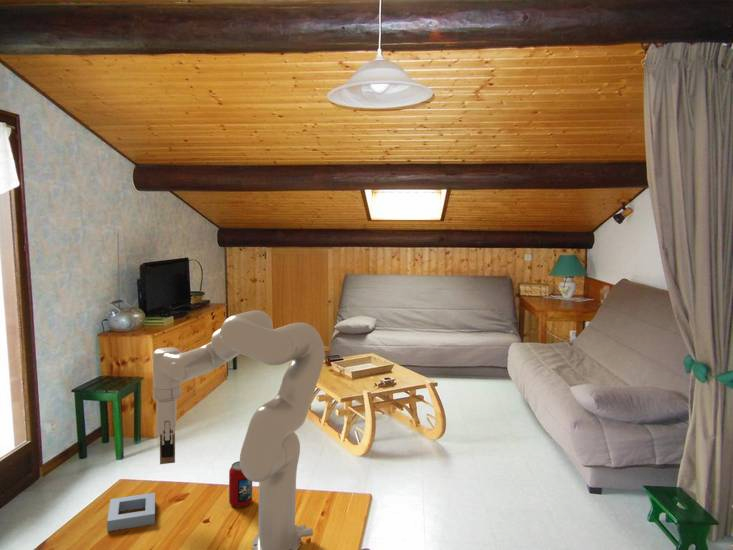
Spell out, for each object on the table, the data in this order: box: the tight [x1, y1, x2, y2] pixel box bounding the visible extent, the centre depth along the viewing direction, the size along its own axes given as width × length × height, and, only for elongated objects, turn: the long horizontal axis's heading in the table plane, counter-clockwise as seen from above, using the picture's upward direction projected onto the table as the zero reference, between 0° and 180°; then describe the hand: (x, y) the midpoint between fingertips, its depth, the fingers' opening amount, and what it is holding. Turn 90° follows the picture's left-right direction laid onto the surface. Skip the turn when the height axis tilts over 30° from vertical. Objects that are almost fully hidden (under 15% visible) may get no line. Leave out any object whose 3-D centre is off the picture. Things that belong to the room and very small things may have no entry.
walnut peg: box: [159, 431, 176, 465], centre depth 156 cm, size 4×4×11 cm
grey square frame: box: [106, 492, 156, 532], centre depth 155 cm, size 12×12×3 cm
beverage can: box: [228, 460, 253, 508], centre depth 163 cm, size 7×7×12 cm
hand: (167, 452), depth 157 cm, fingers closed on walnut peg, 4 cm apart
